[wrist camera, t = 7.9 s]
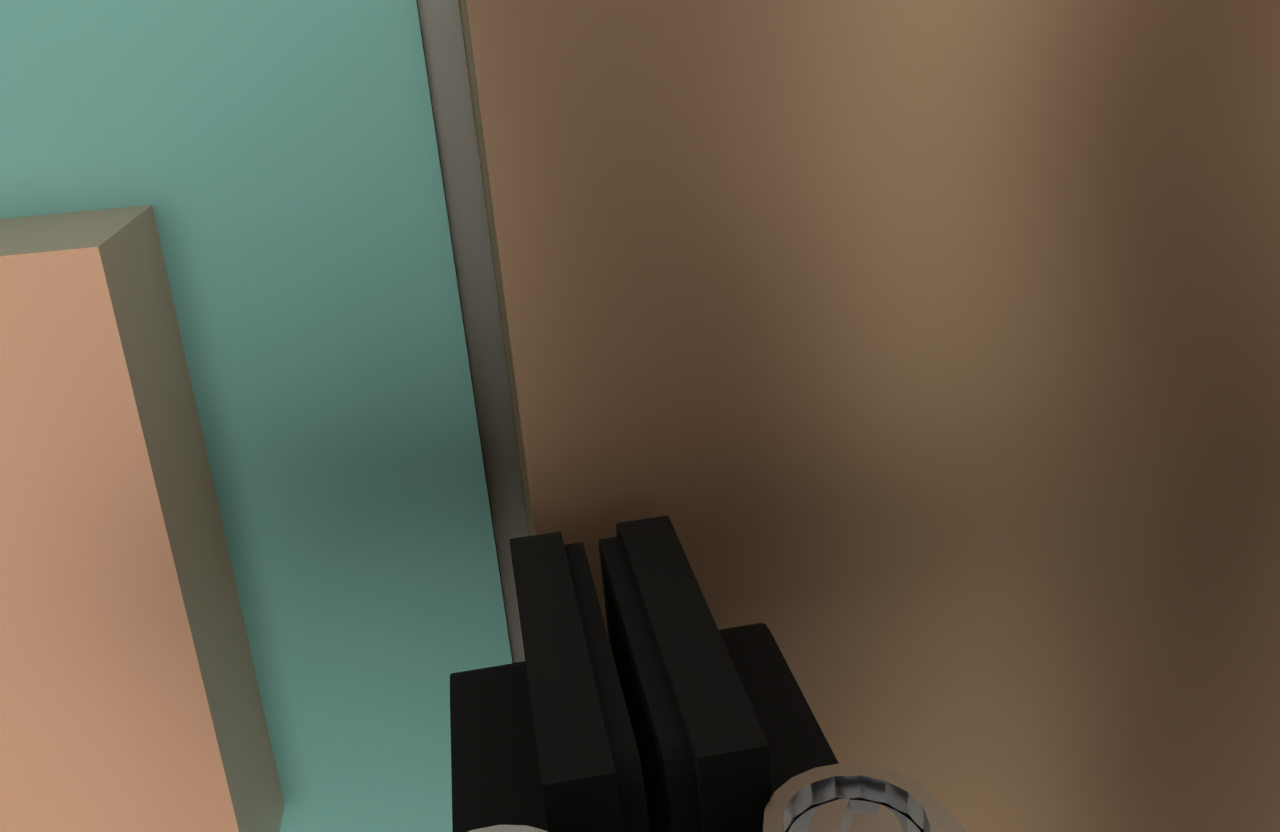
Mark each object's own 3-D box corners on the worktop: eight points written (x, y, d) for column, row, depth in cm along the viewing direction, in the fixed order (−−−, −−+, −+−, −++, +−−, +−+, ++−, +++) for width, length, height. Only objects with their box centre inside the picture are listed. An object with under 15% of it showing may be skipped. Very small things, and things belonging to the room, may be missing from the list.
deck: (1624, -152, 16) (1992, -195, 12) (1447, 703, 21) (1666, 860, 17) (451, -52, 14) (456, -65, 10) (573, 867, 19) (607, 1083, 15)
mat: (409, -48, 14) (409, -48, 13) (543, 872, 19) (544, 886, 18) (-625, 40, 12) (-651, 42, 12) (-179, 1007, 17) (-189, 1024, 17)
